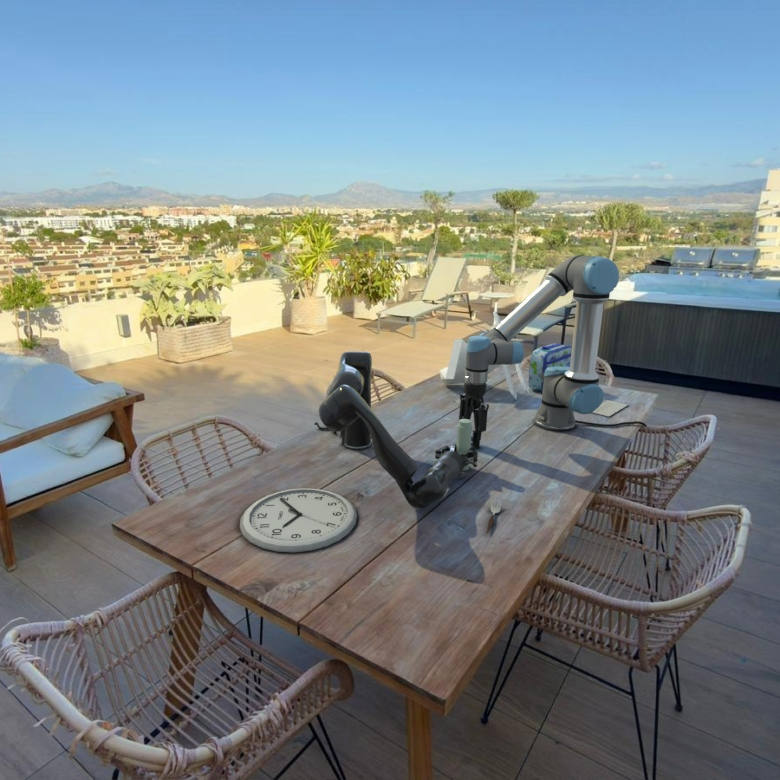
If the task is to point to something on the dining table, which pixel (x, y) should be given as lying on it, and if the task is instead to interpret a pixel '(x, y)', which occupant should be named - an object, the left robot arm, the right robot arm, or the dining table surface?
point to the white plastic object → (458, 366)
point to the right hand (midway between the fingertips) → (470, 445)
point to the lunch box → (547, 362)
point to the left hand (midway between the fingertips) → (465, 447)
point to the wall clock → (298, 520)
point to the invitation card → (609, 407)
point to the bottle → (464, 437)
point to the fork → (493, 510)
